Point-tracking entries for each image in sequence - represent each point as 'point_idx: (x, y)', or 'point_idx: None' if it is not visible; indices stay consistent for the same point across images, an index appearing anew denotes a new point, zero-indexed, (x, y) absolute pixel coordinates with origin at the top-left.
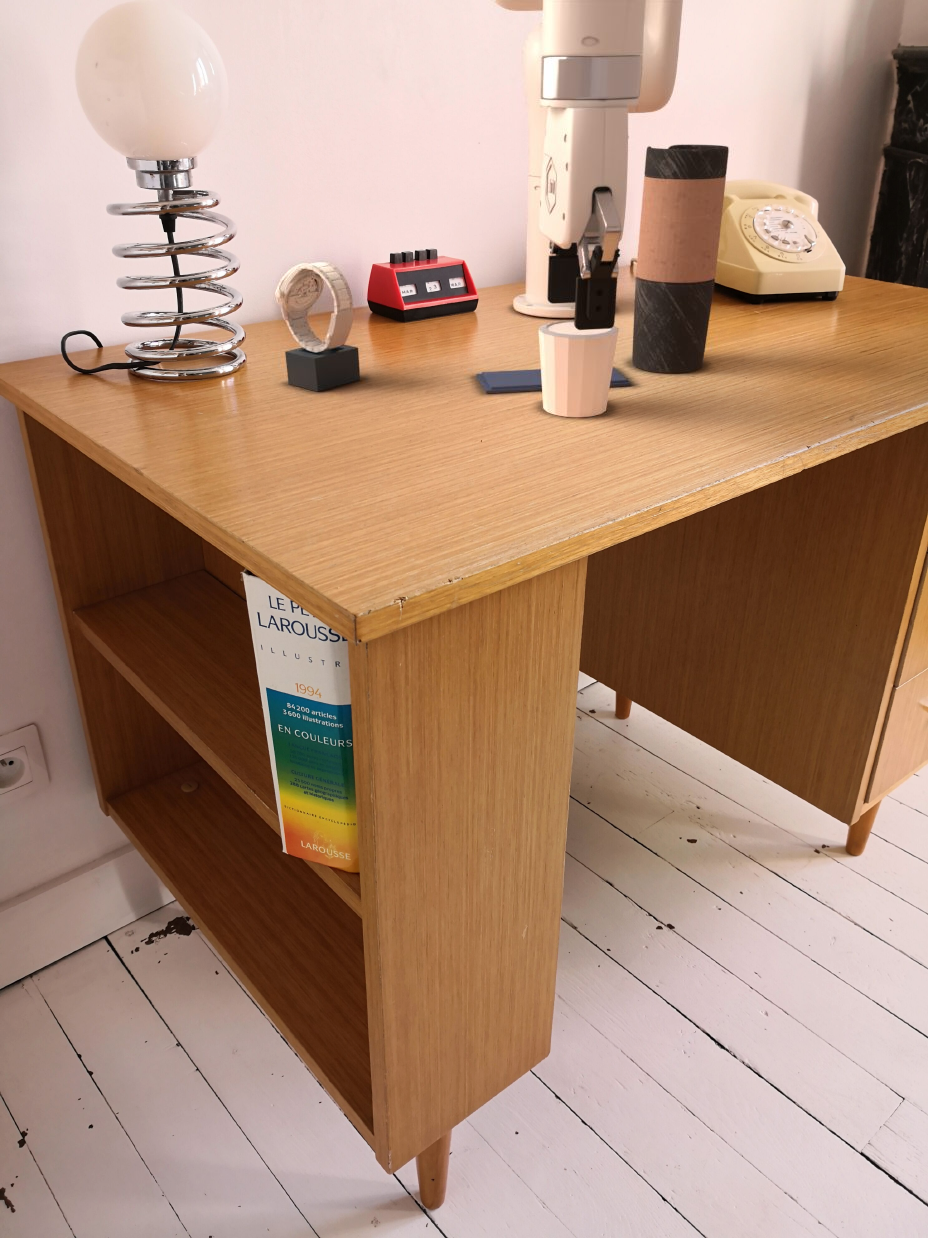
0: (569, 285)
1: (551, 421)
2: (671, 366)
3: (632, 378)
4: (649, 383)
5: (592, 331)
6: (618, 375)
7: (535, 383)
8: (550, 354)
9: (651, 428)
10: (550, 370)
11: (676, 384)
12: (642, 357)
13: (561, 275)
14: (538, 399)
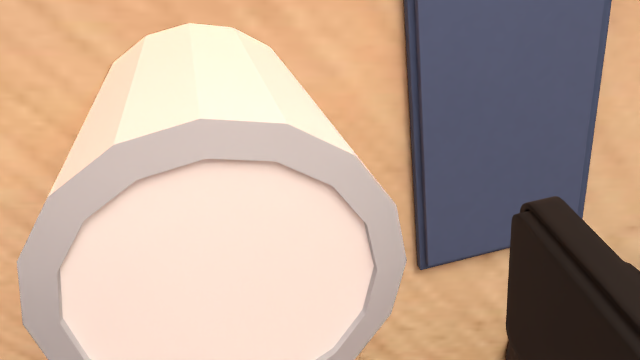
0: (546, 345)
1: (37, 47)
2: (515, 355)
3: (486, 267)
4: (434, 302)
5: (176, 340)
6: (474, 246)
7: (433, 5)
8: (90, 134)
9: (21, 311)
10: (105, 104)
11: (415, 352)
12: None
13: (585, 353)
14: (303, 7)
